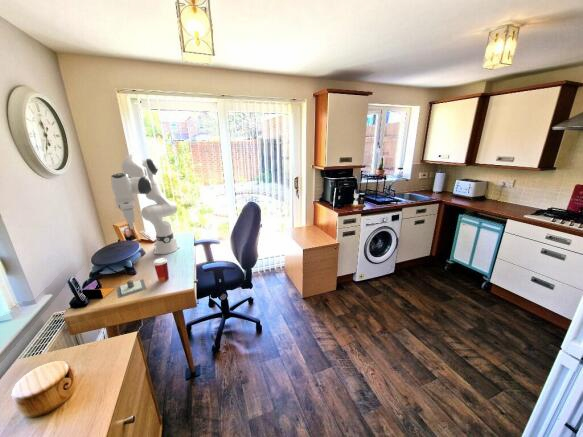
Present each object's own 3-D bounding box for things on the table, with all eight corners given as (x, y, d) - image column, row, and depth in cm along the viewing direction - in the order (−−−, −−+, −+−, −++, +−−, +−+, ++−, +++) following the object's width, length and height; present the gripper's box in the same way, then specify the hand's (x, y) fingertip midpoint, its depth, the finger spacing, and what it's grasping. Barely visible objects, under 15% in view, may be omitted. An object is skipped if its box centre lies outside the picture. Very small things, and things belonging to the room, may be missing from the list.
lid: (120, 287, 142) (118, 280, 141) (140, 281, 148) (138, 275, 146) (122, 295, 134) (120, 288, 133) (142, 288, 140) (140, 282, 139)
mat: (116, 288, 142) (116, 287, 142) (143, 279, 151) (143, 279, 150) (118, 299, 132) (118, 298, 132) (147, 290, 140) (146, 289, 140)
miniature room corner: (81, 302, 130) (77, 291, 128) (97, 289, 142) (94, 279, 140) (103, 301, 131) (100, 290, 129) (117, 288, 142) (115, 278, 140)
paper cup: (168, 275, 155) (164, 256, 151) (172, 280, 150) (168, 260, 146) (155, 280, 150) (150, 260, 146) (159, 285, 145) (154, 264, 140)
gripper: (117, 201, 138) (122, 223, 142) (120, 207, 123) (126, 232, 127) (130, 199, 142) (135, 221, 146) (134, 205, 127) (139, 230, 131)
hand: (131, 226), depth 136 cm, fingers open, 8 cm apart
